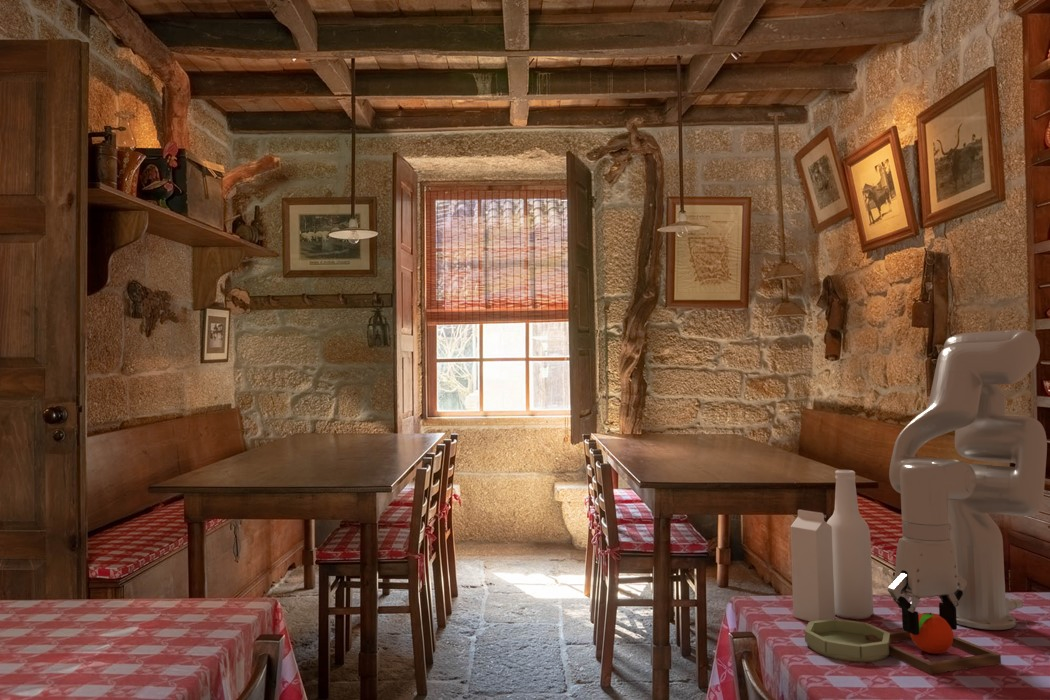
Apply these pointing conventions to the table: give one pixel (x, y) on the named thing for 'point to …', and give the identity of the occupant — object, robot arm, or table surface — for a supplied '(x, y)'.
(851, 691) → the table surface
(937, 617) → the clementine
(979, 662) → the brown rectangular frame
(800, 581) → the milk
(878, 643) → the dish
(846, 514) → the alcohol
